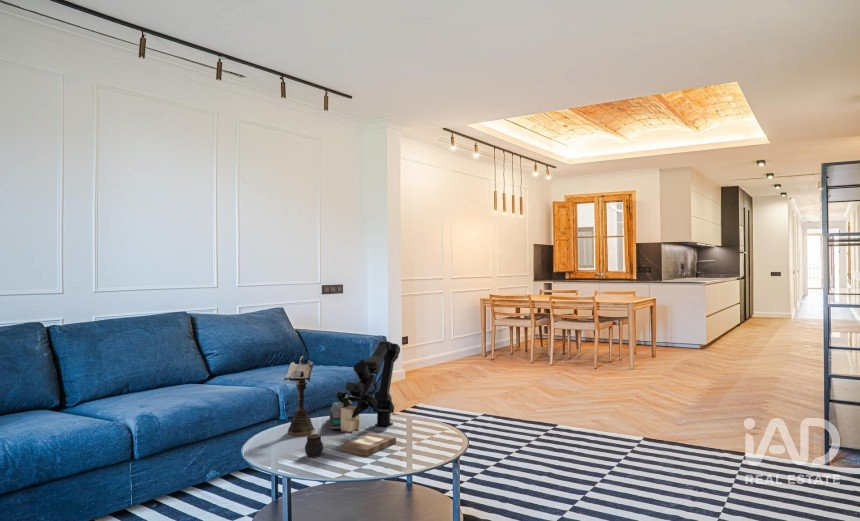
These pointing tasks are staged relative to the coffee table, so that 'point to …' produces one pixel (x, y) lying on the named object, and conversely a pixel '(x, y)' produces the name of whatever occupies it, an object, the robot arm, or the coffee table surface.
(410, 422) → the coffee table surface
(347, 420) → the tan rectangular block
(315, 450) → the mate gourd
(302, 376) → the book stand
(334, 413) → the toy van
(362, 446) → the loading dock
